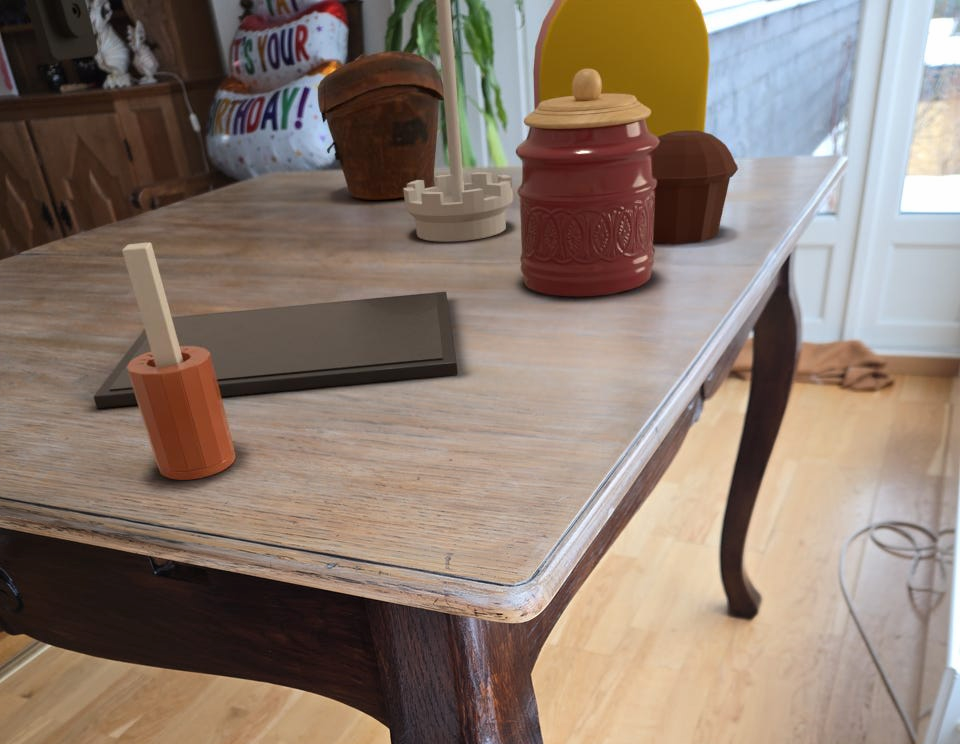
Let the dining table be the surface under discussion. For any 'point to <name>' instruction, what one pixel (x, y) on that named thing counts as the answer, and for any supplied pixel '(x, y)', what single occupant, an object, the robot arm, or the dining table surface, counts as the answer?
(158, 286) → the stylus
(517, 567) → the dining table surface
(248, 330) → the tablet
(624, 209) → the kitchen canister
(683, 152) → the muffin
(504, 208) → the flag stand
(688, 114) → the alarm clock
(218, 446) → the pen pot
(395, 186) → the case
